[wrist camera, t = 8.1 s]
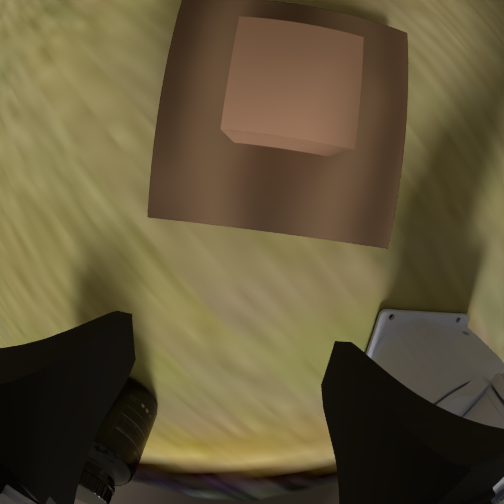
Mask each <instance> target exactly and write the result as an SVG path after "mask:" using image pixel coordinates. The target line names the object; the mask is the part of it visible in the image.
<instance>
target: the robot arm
mask: <svg viewBox="0 0 504 504" xmlns="http://www.w3.org/2000/svg"><path fill="white" fill-rule="evenodd" d="M391 314H393V316H392V317H391V318H389V316H390V315H391ZM457 318H458V319H457ZM456 319H457V320H456ZM469 319H470V317H469V315H468V314H466V313H444V312H426V311H410V310H396V309H383V310H381V312H380V313H379V315H378V318H377V322H376V325H375V328H374V331H373V334H372V337H371V340H370V343H369V346H368V349H367V351H366V354H365V353H364V352H363V351H362V350H361V349H359V348H358V347H357V346H356V345H354V344H353V343H352V342H339V341H335V343H334V346H333V350H332V353H331V356H330V360H329V363H328V366H327V369H326V372H325V375H324V378H323V381H322V384H321V388H322V400H323V408H324V413H325V417H326V421H327V425H328V430H329V434H330V438H331V442H332V446H333V450H334V454H335V459H336V465H337V474H338V485H339V503H340V504H504V363H503V362H502V360H501V359H500V358H499V356H498V355H496V354H495V353H494V352H493V351H492V350H491V349H490V348H489V347H488V346H487V345H486V344H485V343H484V342H483V341H482V340H481V339H480V338H479V337H478V336H477V335H476V334H474V333H473V332H472V331H471V330H470V329H469V328H468V327H467V325H468V322H469ZM135 360H136V359H135V349H134V338H133V325H132V314H130V313H125V312H120V311H115V312H111V313H109V314H106V315H104V316H101V317H99V318H96V319H94V320H92V321H89V322H87V323H85V324H82V325H80V326H78V327H75V328H73V329H70V330H68V331H65V332H62V333H60V334H57V335H54V336H52V337H49V338H46V339H42V340H39V341H35V342H31V343H28V344H23V345H18V346H12V347H6V348H0V504H74V501H75V496H76V492H77V488H78V484H79V481H80V477H81V474H82V470H83V467H84V464H85V461H86V459H87V456H88V453H89V450H90V448H91V445H92V443H93V440H94V438H95V435H96V433H97V431H98V429H99V427H100V425H101V423H102V421H103V420H104V418H105V416H106V415H107V413H108V411H109V410H110V408H111V406H112V405H113V403H114V401H115V400H116V398H117V396H118V395H119V393H120V391H121V390H122V388H123V386H124V384H125V383H126V381H127V379H128V377H129V374H130V372H131V370H132V367H133V365H134V362H135Z"/></svg>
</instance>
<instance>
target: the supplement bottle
mask: <svg viewBox="0 0 504 504" xmlns="http://www.w3.org/2000/svg"><path fill="white" fill-rule="evenodd" d="M156 415H157V406H156V403H155V400H154V398H153V397H152V395H151V394H150V393H149V391H148V390H147V389H146V388H145V387H143V386H142V385H141V384H140V383H138V382H137V381H135V380H133V379H131V378H129V377H128V379H127V381H126V383H125V384H124V386H123V388H122V390H121V391H120V393H119V395H118V396H117V398H116V400H115V401H114V403H113V405H112V406H111V408H110V410H109V411H108V413H107V415H106V416H105V418H104V420H103V421H102V423H101V425H100V427H99V429H98V431H97V433H96V435H95V438H94V440H93V443H92V445H91V448H90V450H89V453H88V456H87V459H86V461H85V464H84V467H83V470H82V474H81V477H80V481H79V484H78V488H77V492H76V496H75V498H76V499H78V500H80V501H82V502H84V503H87V504H109V503H110V501H111V498H112V496H113V495H114V493H115V487H114V486H122V485H125V484H127V483H129V482H130V481H131V480H132V479H133V477H134V475H135V472H136V469H137V467H138V464H139V461H140V459H141V456H142V453H143V450H144V448H145V445H146V442H147V440H148V437H149V434H150V432H151V429H152V427H153V424H154V421H155V418H156Z"/></svg>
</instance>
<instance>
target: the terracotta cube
mask: <svg viewBox="0 0 504 504" xmlns="http://www.w3.org/2000/svg"><path fill="white" fill-rule="evenodd" d="M363 42H364V37H361V36H358V35H354V34H350V33H346V32H342V31H338V30H334V29H329V28H325V27H320V26H314V25H309V24H303V23H297V22H291V21H283V20H275V19H266V18H255V17H241V16H239V20H238V25H237V30H236V35H235V41H234V46H233V52H232V58H231V63H230V69H229V75H228V82H227V88H226V94H225V101H224V107H223V114H222V121H221V128H220V129H221V130H222V131H223V132H224V133H225V134H226V135H227V136H228V137H229V138H230V139H231V140H232V141H233V142H234V143H243V144H251V145H259V146H267V147H274V148H281V149H288V150H294V151H300V152H306V153H312V154H317V155H323V156H331V155H335V154H339V153H343V152H347V151H352V150H355V144H356V135H357V126H358V117H359V106H360V95H361V81H362V65H363Z"/></svg>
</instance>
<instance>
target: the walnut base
mask: <svg viewBox="0 0 504 504" xmlns="http://www.w3.org/2000/svg"><path fill="white" fill-rule="evenodd" d="M239 16H241V17H255V18H266V19H275V20H283V21H291V22H297V23H303V24H309V25H314V26H320V27H325V28H329V29H334V30H338V31H342V32H346V33H350V34H354V35H358V36H361V37H364V42H363V65H362V81H361V95H360V106H359V117H358V126H357V135H356V144H355V150H352V151H347V152H343V153H339V154H335V155H331V156H323V155H317V154H312V153H306V152H300V151H294V150H288V149H281V148H274V147H267V146H259V145H251V144H243V143H234V142H233V141H232V140H231V139H230V138H229V137H228V136H227V135H226V134H225V133H224V132H223V131H222V130H221V129H220V128H221V121H222V114H223V107H224V101H225V94H226V88H227V82H228V75H229V69H230V63H231V58H232V52H233V46H234V41H235V35H236V30H237V25H238V20H239ZM407 100H408V40H407V33H406V32H403V31H400V30H398V29H395V28H392V27H389V26H386V25H383V24H380V23H377V22H374V21H370V20H367V19H363V18H360V17H356V16H352V15H348V14H344V13H340V12H336V11H331V10H326V9H321V8H316V7H311V6H305V5H298V4H292V3H284V2H275V1H265V0H182V2H181V6H180V9H179V13H178V17H177V21H176V24H175V28H174V33H173V37H172V41H171V46H170V50H169V55H168V59H167V64H166V69H165V75H164V80H163V85H162V91H161V97H160V103H159V110H158V116H157V123H156V131H155V139H154V147H153V156H152V166H151V176H150V188H149V202H148V217H149V218H159V219H168V220H177V221H185V222H194V223H203V224H211V225H219V226H227V227H235V228H243V229H251V230H259V231H267V232H274V233H282V234H289V235H297V236H304V237H311V238H318V239H326V240H333V241H339V242H346V243H353V244H360V245H367V246H373V247H380V248H386V249H388V245H389V241H390V236H391V231H392V226H393V221H394V215H395V210H396V204H397V198H398V191H399V185H400V178H401V170H402V162H403V153H404V143H405V132H406V119H407Z"/></svg>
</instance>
